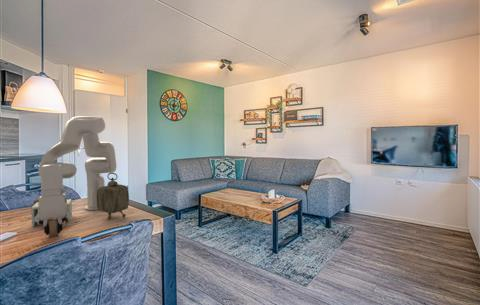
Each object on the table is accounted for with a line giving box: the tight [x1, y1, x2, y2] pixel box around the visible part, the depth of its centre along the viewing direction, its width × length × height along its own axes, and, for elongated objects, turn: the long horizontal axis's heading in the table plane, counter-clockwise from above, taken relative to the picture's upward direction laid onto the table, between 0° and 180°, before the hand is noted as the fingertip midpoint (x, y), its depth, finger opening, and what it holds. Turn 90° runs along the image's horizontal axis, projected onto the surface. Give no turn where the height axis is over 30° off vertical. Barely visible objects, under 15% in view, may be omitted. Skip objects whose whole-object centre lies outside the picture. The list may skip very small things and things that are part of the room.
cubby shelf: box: [31, 198, 73, 228], centre depth 127 cm, size 15×12×10 cm
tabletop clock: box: [97, 172, 130, 220], centre depth 132 cm, size 14×9×25 cm, turn 71°
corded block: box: [48, 216, 66, 238], centre depth 112 cm, size 5×17×7 cm, turn 30°
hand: (53, 232), depth 106 cm, fingers closed on corded block, 3 cm apart
